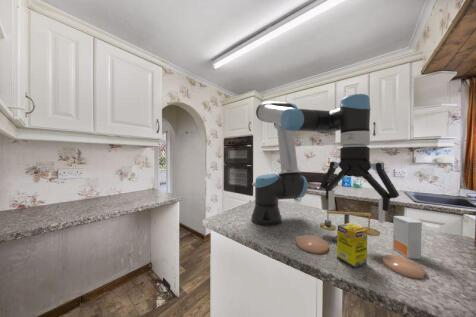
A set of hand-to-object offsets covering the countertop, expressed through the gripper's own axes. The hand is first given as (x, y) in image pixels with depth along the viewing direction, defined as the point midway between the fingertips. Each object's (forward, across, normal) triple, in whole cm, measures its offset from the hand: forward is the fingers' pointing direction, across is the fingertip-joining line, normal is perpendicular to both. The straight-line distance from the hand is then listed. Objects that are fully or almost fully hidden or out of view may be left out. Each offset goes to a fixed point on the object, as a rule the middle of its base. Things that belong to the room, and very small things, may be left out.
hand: (354, 215), depth 53 cm
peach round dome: (+15, -13, -1) cm, 20 cm away
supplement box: (+15, -1, 0) cm, 15 cm away
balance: (+15, -6, +11) cm, 20 cm away
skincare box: (+15, +9, +20) cm, 27 cm away
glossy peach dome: (+15, +10, +9) cm, 20 cm away
